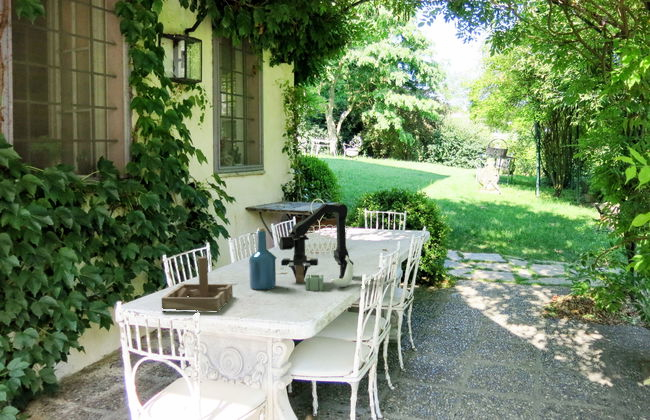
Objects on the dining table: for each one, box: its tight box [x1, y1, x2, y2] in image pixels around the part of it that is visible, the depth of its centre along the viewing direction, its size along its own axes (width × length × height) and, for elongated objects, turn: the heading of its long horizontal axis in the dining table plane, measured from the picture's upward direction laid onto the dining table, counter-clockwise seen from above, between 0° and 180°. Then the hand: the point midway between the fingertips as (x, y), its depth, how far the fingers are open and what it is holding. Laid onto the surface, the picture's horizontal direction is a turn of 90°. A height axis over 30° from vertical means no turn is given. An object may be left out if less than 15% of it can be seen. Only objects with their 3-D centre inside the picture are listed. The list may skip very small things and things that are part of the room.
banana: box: [330, 255, 355, 288], centre depth 288 cm, size 5×19×15 cm, turn 153°
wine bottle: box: [248, 227, 277, 291], centre depth 288 cm, size 14×13×30 cm
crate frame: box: [161, 283, 234, 312], centre depth 258 cm, size 27×24×6 cm
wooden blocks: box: [176, 256, 229, 304], centre depth 257 cm, size 17×20×20 cm
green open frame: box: [305, 274, 324, 292], centre depth 285 cm, size 8×8×6 cm
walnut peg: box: [295, 264, 305, 284], centre depth 299 cm, size 4×4×9 cm
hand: (300, 278), depth 299 cm, fingers closed on walnut peg, 4 cm apart
